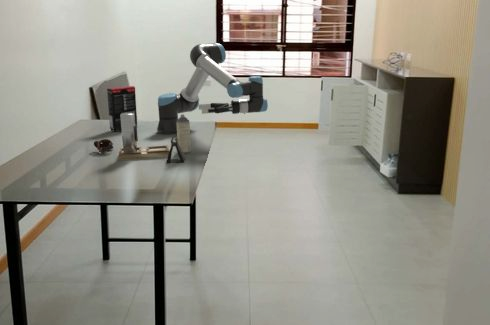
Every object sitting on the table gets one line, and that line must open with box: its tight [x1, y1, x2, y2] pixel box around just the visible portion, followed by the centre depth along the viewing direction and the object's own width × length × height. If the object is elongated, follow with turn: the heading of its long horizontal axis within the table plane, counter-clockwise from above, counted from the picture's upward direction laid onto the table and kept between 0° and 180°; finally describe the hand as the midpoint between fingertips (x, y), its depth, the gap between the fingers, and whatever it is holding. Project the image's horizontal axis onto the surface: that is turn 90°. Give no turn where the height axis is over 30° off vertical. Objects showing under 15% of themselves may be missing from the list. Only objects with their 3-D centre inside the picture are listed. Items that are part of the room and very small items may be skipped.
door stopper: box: [165, 136, 186, 164], centre depth 259 cm, size 9×6×12 cm, turn 93°
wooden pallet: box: [117, 144, 170, 161], centre depth 272 cm, size 11×26×4 cm, turn 101°
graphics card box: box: [106, 85, 138, 132], centre depth 334 cm, size 17×7×27 cm, turn 133°
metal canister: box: [120, 113, 139, 153], centre depth 268 cm, size 7×8×20 cm
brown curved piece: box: [93, 138, 114, 154], centre depth 281 cm, size 12×9×8 cm
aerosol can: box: [176, 113, 192, 154], centre depth 276 cm, size 7×7×20 cm
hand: (200, 109), depth 281 cm, fingers open, 13 cm apart
